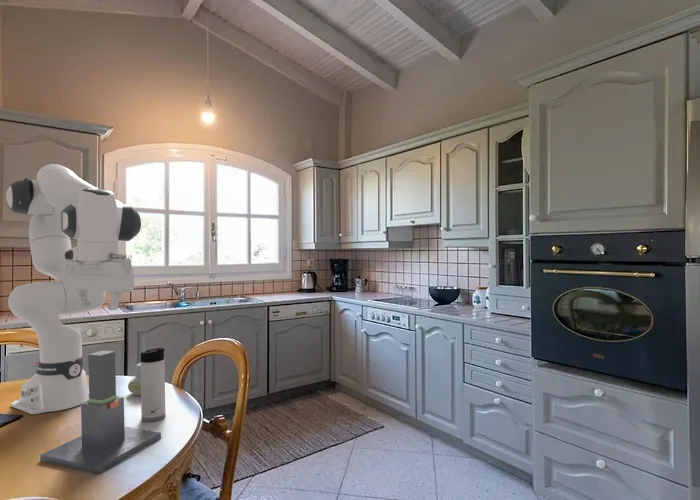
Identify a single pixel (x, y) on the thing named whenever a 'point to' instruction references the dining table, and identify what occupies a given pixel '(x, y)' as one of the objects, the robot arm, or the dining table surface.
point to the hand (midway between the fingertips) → (98, 308)
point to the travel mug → (152, 385)
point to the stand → (101, 439)
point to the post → (102, 377)
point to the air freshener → (136, 382)
